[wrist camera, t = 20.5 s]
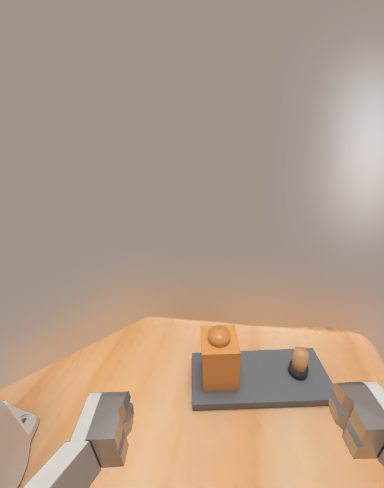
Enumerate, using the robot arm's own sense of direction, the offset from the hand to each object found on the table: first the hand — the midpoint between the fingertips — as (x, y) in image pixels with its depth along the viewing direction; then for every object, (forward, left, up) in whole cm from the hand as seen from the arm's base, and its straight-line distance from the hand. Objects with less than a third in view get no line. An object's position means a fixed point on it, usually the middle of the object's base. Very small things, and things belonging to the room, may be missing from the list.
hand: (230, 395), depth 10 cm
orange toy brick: (-10, +21, -30) cm, 38 cm away
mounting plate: (-4, +24, -32) cm, 40 cm away
